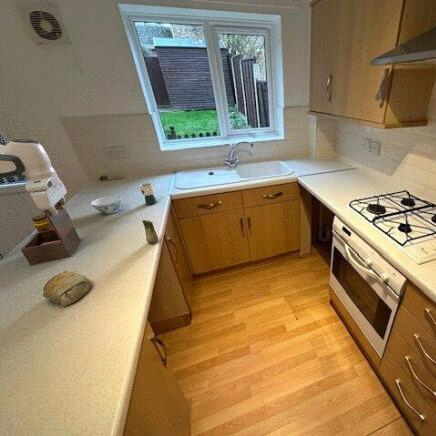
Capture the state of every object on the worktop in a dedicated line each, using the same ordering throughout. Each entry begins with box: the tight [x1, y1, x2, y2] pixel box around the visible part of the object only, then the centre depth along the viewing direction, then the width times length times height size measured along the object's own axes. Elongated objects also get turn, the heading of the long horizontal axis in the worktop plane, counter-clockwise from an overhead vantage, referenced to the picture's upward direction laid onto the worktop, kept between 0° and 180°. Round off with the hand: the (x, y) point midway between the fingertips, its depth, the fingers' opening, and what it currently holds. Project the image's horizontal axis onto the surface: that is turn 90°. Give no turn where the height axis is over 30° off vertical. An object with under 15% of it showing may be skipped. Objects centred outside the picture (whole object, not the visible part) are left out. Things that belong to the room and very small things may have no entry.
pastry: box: [42, 270, 91, 307], centre depth 85 cm, size 14×12×8 cm
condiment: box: [31, 214, 54, 232], centre depth 118 cm, size 7×8×12 cm
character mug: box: [139, 182, 157, 205], centre depth 155 cm, size 11×7×13 cm, turn 37°
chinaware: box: [90, 195, 123, 215], centre depth 145 cm, size 15×15×8 cm
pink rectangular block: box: [41, 240, 61, 245], centre depth 109 cm, size 7×4×4 cm, turn 115°
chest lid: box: [42, 201, 75, 241], centre depth 106 cm, size 14×16×4 cm
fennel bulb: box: [141, 219, 159, 245], centre depth 113 cm, size 6×5×12 cm
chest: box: [20, 225, 81, 266], centre depth 108 cm, size 14×16×8 cm
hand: (60, 210), depth 104 cm, fingers open, 8 cm apart
